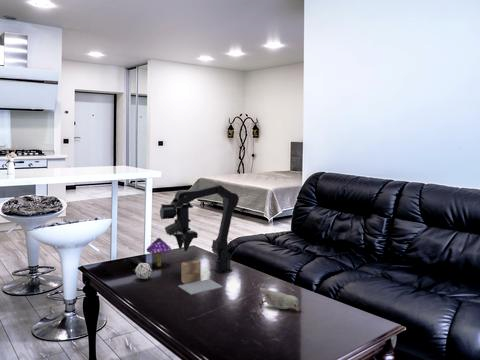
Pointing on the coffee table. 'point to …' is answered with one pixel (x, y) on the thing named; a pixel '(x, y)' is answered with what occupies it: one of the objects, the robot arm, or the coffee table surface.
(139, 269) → the game die
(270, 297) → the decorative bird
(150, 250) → the decorative mushroom
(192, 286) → the rubber mat
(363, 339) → the coffee table surface
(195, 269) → the brown wooden block
